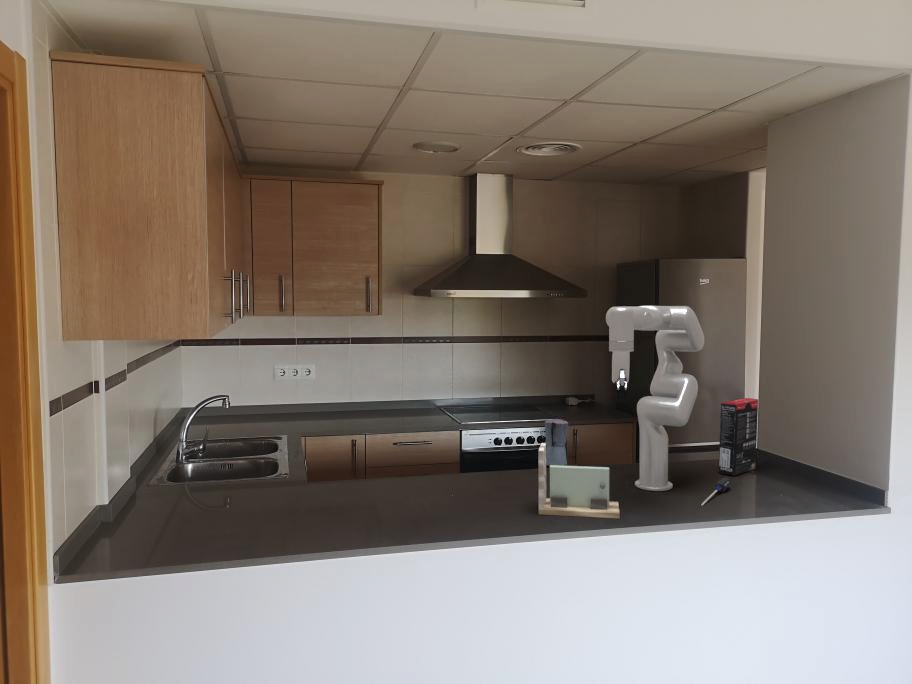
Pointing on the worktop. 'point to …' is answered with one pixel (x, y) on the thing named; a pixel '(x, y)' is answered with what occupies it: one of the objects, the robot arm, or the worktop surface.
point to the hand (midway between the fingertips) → (621, 400)
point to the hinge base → (560, 503)
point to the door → (579, 484)
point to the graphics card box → (738, 436)
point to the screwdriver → (719, 487)
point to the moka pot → (556, 441)
